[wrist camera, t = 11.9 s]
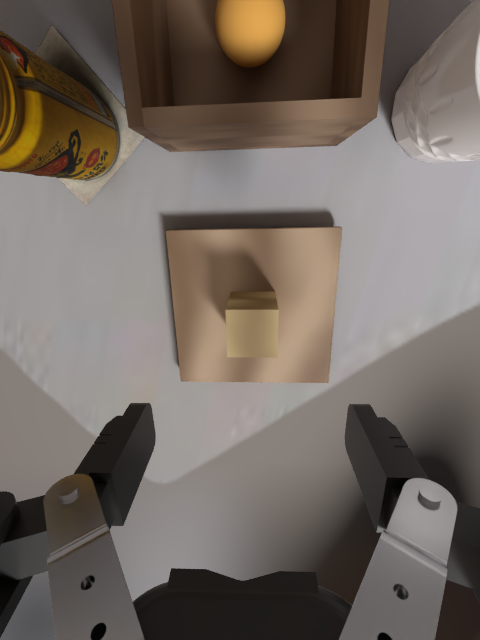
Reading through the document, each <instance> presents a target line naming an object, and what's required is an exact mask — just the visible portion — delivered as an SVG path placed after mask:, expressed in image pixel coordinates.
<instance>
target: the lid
mask: <svg viewBox="0 0 480 640" xmlns="http://www.w3.org/2000/svg"><path fill="white" fill-rule="evenodd" d="M341 234H342V227H288V228H233V229H179V230H167V231H166V239H167V248H168V258H169V268H170V278H171V288H172V298H173V308H174V318H175V328H176V338H177V348H178V358H179V368H180V378H181V381H192V382H293V383H328V382H329V370H330V359H331V348H332V336H333V325H334V314H335V302H336V291H337V280H338V268H339V257H340V246H341Z"/></svg>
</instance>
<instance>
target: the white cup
mask: <svg viewBox="0 0 480 640" xmlns="http://www.w3.org/2000/svg"><path fill="white" fill-rule="evenodd" d="M391 121H392V125H393V129H394V133H395V137H396V141H397V143H398V144H399V145H400V146H401V147H402V148H403V149H404V150H405V152H406V153H407V154H408V155H409V156H410V157H411V158H414V159H418V160H421V161H425V162H428V163H439V162H445V161H471V160H480V0H473V1H472V2H471V3H470V4H469V5H468V6H467V7H466V8H465V9H464V10H463V11H462V12H461V13H460V14H459V15H458V16H457V17H456V18H455V19H454V20H453V21H452V23H451V24H450V25H449V26H448V27H447V28H446V29H445V31H444V32H443V33H442V34H441V35H440V36H439V37H438V38H437V39H436V40H435V41H434V42H433V44H432V45H431V46H430V47H429V49H428V50H427V51H426V52H425V54H424V55H423V56H422V57H421V58H420V59H419V60H418V61H417V62H416V63H415V64H414V65H413V66H412V67H411V68H410V69H409V71H408V73H407V75H406V76H405V78H404V80H403V81H402V83H401V85H400V87H399V88H398V90H397V92H396V94H395V100H394V106H393V112H392V117H391Z"/></svg>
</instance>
